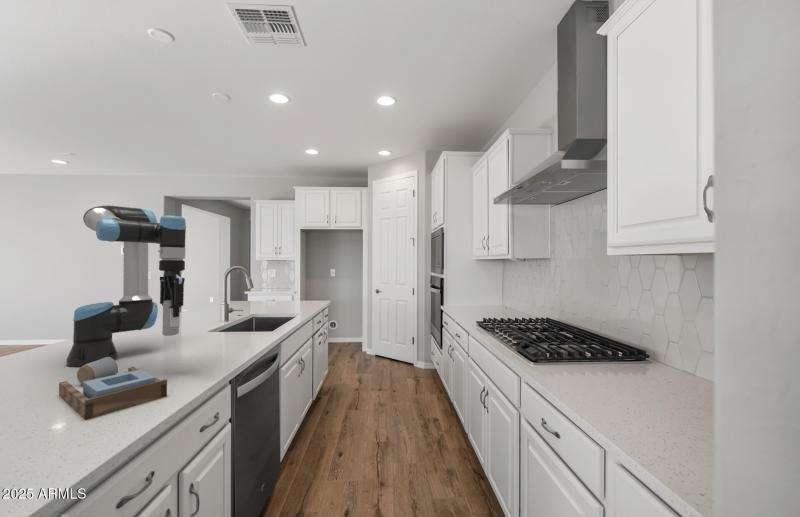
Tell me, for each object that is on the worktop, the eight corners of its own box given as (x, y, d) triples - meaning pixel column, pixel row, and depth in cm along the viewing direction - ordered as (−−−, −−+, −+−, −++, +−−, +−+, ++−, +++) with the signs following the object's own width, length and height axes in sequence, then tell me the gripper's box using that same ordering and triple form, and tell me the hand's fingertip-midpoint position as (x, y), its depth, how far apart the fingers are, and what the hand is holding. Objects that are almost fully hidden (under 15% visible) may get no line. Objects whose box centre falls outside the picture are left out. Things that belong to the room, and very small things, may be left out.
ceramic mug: (74, 386, 108) (75, 362, 108) (101, 377, 116) (101, 355, 116) (100, 389, 106) (101, 365, 106) (126, 380, 114) (126, 358, 114)
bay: (58, 399, 97) (59, 379, 98) (133, 381, 112) (133, 364, 112) (85, 424, 83) (85, 400, 83) (166, 400, 98) (167, 380, 98)
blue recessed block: (82, 403, 93) (83, 381, 93) (138, 388, 103) (139, 369, 103) (96, 414, 86) (97, 391, 86) (154, 397, 97) (155, 377, 97)
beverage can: (161, 336, 113) (161, 301, 113) (163, 333, 117) (164, 300, 117) (178, 335, 115) (178, 301, 115) (179, 332, 119) (180, 299, 120)
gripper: (149, 259, 118) (147, 324, 118) (171, 259, 108) (170, 330, 108) (172, 259, 124) (171, 321, 124) (196, 260, 115) (194, 326, 114)
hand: (170, 325), depth 116 cm, fingers closed on beverage can, 5 cm apart
